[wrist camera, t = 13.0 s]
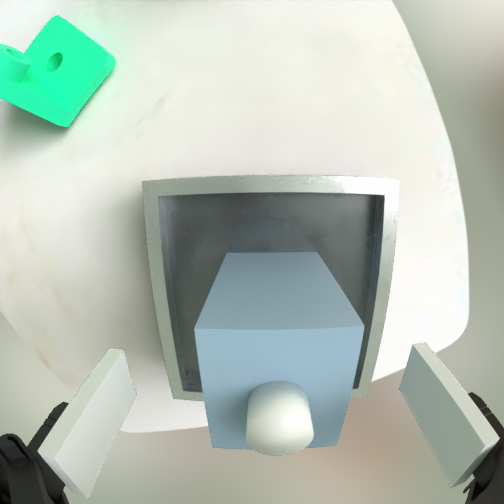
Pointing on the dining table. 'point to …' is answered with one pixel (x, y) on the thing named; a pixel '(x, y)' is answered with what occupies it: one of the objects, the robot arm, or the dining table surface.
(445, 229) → the dining table surface
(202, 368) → the blue bottle
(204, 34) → the dining table surface
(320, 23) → the dining table surface
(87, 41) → the camera mount
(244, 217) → the open square box
